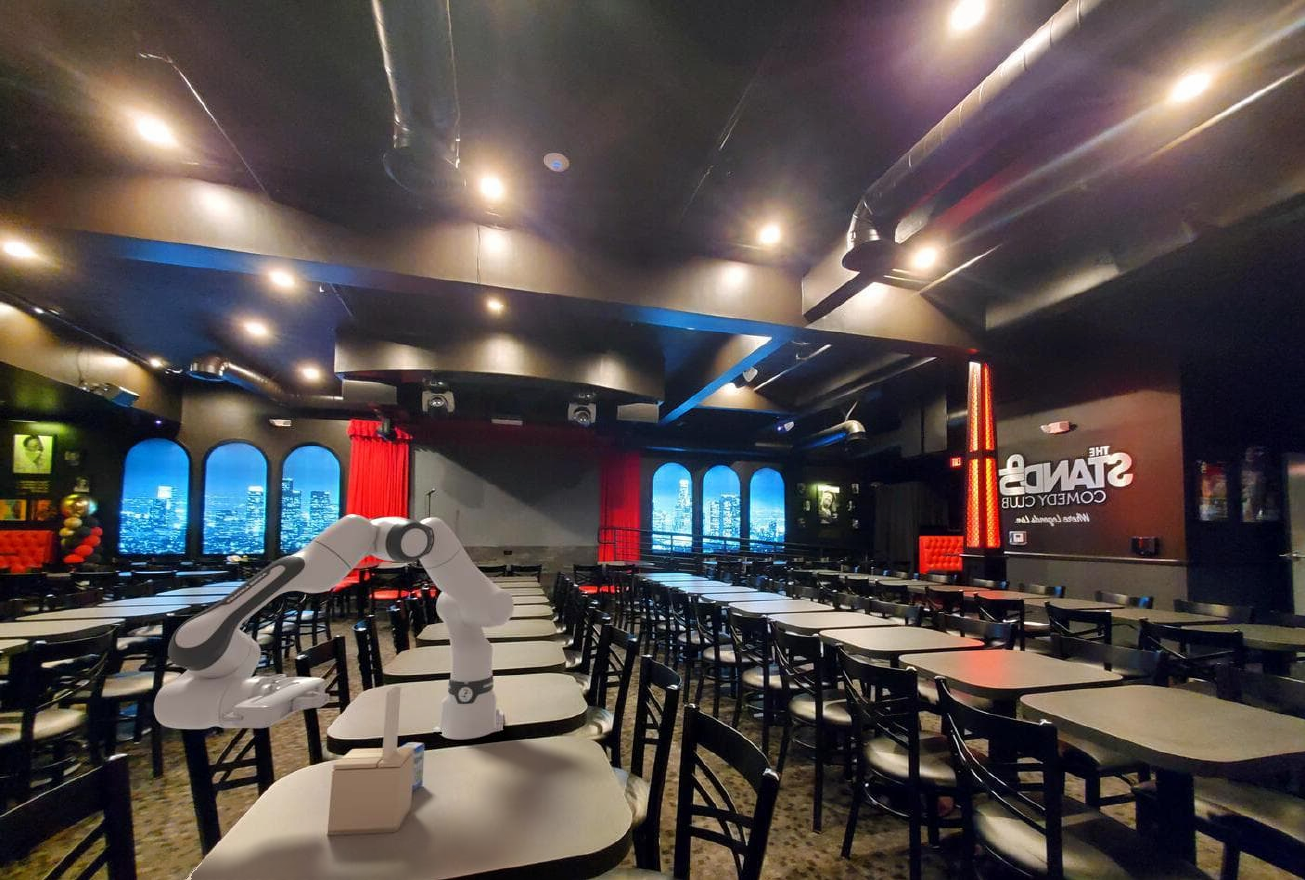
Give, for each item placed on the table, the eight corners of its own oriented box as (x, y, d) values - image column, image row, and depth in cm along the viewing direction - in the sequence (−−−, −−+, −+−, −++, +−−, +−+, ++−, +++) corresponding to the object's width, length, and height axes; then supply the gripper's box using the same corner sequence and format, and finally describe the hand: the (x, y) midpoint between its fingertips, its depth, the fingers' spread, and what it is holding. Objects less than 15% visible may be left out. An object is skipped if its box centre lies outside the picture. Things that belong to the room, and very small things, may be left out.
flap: (393, 751, 110) (397, 684, 112) (414, 750, 110) (418, 683, 112) (377, 767, 102) (382, 695, 105) (399, 766, 103) (404, 694, 105)
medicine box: (399, 802, 112) (402, 756, 113) (380, 800, 113) (383, 755, 114) (422, 785, 120) (425, 742, 121) (404, 783, 120) (407, 741, 122)
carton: (347, 813, 108) (352, 748, 110) (410, 810, 109) (414, 745, 111) (327, 835, 100) (333, 764, 102) (395, 831, 101) (399, 762, 103)
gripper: (215, 700, 96) (298, 698, 97) (283, 672, 116) (351, 670, 118) (210, 739, 95) (294, 736, 96) (280, 703, 115) (348, 702, 116)
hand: (325, 700), depth 107 cm, fingers closed
